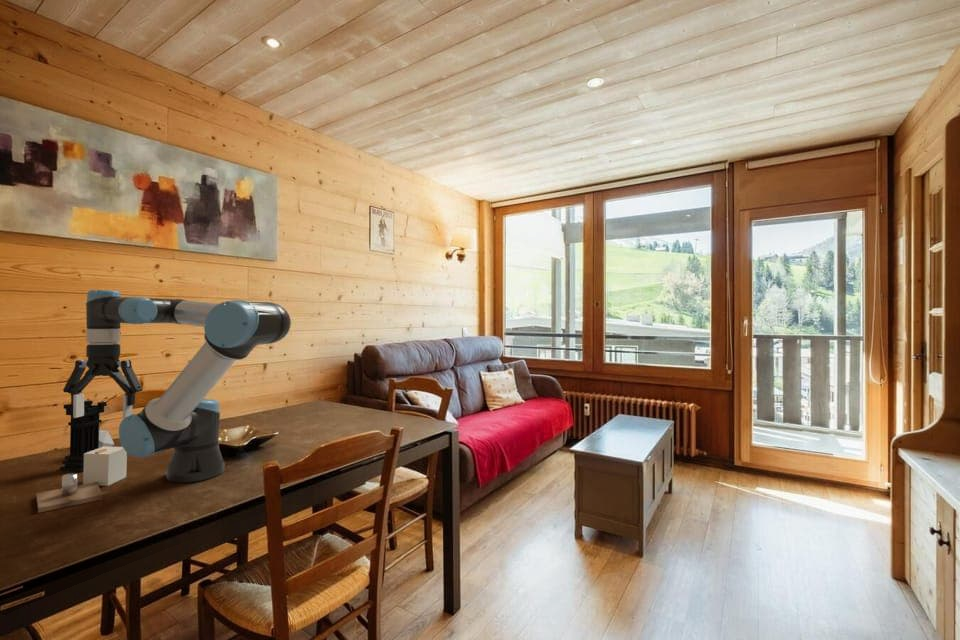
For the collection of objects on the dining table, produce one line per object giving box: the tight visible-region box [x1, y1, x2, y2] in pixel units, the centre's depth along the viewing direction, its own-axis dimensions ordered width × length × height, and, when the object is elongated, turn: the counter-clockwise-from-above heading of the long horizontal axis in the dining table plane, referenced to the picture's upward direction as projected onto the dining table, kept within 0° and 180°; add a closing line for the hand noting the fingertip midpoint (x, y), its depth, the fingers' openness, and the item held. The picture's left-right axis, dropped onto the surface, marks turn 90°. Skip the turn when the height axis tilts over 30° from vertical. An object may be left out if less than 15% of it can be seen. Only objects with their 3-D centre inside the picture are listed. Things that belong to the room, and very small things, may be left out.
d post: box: [61, 472, 79, 496], centre depth 116 cm, size 3×3×5 cm
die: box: [99, 429, 115, 448], centre depth 150 cm, size 8×9×10 cm
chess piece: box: [59, 399, 108, 473], centre depth 139 cm, size 8×8×20 cm
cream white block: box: [82, 446, 128, 487], centre depth 128 cm, size 7×7×10 cm
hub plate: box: [35, 482, 103, 514], centre depth 116 cm, size 12×12×1 cm
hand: (103, 416), depth 128 cm, fingers open, 13 cm apart
